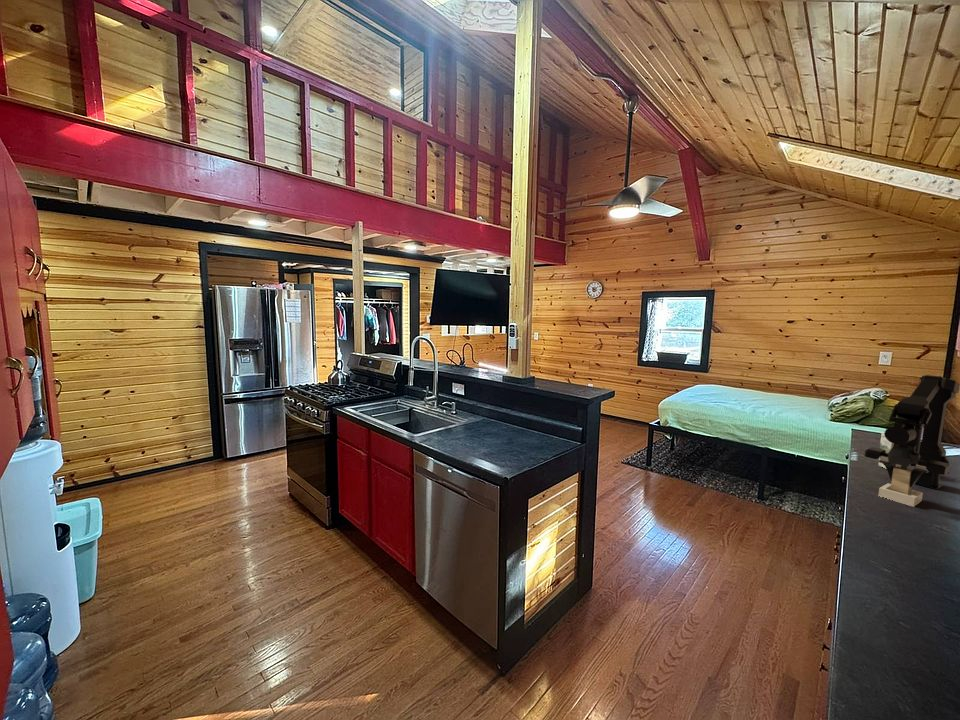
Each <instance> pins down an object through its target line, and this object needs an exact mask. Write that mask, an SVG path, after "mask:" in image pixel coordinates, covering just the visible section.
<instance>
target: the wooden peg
mask: <svg viewBox="0 0 960 720" xmlns="http://www.w3.org/2000/svg"><path fill="white" fill-rule="evenodd" d="M912 475H913V468H908V466H907V467H904V466H901V467H900V466H896V467H894V468H893V474H892V482H891V481H890V482H891V483H890V484H891V490H892V491H896V492H899V493H903V494H906V495H908V494H910V493H911V490H913V486H912V487H910V481H911V478H912Z"/></svg>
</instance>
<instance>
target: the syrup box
mask: <svg viewBox="0 0 960 720" xmlns="http://www.w3.org/2000/svg"><path fill="white" fill-rule="evenodd" d="M884 433H885V431H884V432H881V433H880V434H881V435H880V436H881V437H880V442H879V443H880V445H879V449H884V450H886V453H889V451H890V450H891V449H892V447H893V446H894V443H891V442H890V441H888V440H887V439H886V437H885V434H884ZM879 460H880V458H878V462H877V466H878V467H880V468H882V467H883V469H884V468H885V469H884V470H886V467H885V465H884V464H883V463H880V462H879ZM896 466H900V467H901V465H898V464H896Z"/></svg>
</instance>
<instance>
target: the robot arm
mask: <svg viewBox="0 0 960 720" xmlns="http://www.w3.org/2000/svg"><path fill="white" fill-rule="evenodd" d="M959 391H960V383H959V382H958V381H956V380H955V379H951V378H946V377H943V376H940V375H929V374H925V375H922V376H921V377H920V381H919V384H917V386H916V387H915V389H914V391H913V392H912V393H911V395H910V396H909V397H908V396H907V397H903V398H901V399H900V400H899V401H898V402H897V403H895V405H894V407H893V408H892V411H891V413H890V416H889V419H888V422H890V423H894V424H893V426H890V427H887V428H886V429H885V431H884V432H885V433H884V432H883V433H884V434H885V437H886V439H887V440H888V441H890V442H891V443H894V446H893V447H892V449H891V450H890V451H889V453H886V450H884V449H880V447H879V448H878V447H873V446H872V447H870V448H867V449H866V450H865V451H864V457H866V458H869V459H874V460H877V459H878V461H879V462H880V463H883V464H884V465H885V467H886V469H887V470H886V469H885V470H886V471H887V473H888V476H889V479H890V482H892V474H893V468H894V467H896V464H898V465H901V466H904V467H907V468H908V467H915V468H912V470H913V475H912V478H911V481H910V487H912V488H913V486H914V485H918V486H921V487H922V486H923V487H927V488H929V489H933V490H939V489H940V488H941V487H943V484H941V483H940V480H941V475H942V476H945V475H947V474H950V471H951V470H950V469H951V467H950V461H949V459H948V457H947V450H946V449H945V448H944V446H943V445H942V436H943V430H944V426H945V425H944V423H945V420H946V419H945V417H946V412H947V406H948V403H950V402H951V401H952V400H953V399H955V398H956V394H958V393H959ZM879 458H880V460H879Z"/></svg>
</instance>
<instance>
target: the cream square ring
mask: <svg viewBox="0 0 960 720" xmlns="http://www.w3.org/2000/svg"><path fill="white" fill-rule="evenodd" d="M923 494H924V493H923V492H922V491H919V490H915V489H912V490H911V493H910V494H908V495H906V494H903V493H899V492H896V491H892V490H891V483H889V482H888V483H886V484H884V485H882V486H880V487H879V489H878V494H877V495H878V497H879V496H880V497H879V498H882V497H884V498H883V499H885V498H887V499H886V500H889V499H890V501H892V500H893V502H897V503H900V504H903V505H907V506H909V507H913V508H914V507H916V506H917V505H918V504H920V503H921V502H923V501H922V500H923Z"/></svg>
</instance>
